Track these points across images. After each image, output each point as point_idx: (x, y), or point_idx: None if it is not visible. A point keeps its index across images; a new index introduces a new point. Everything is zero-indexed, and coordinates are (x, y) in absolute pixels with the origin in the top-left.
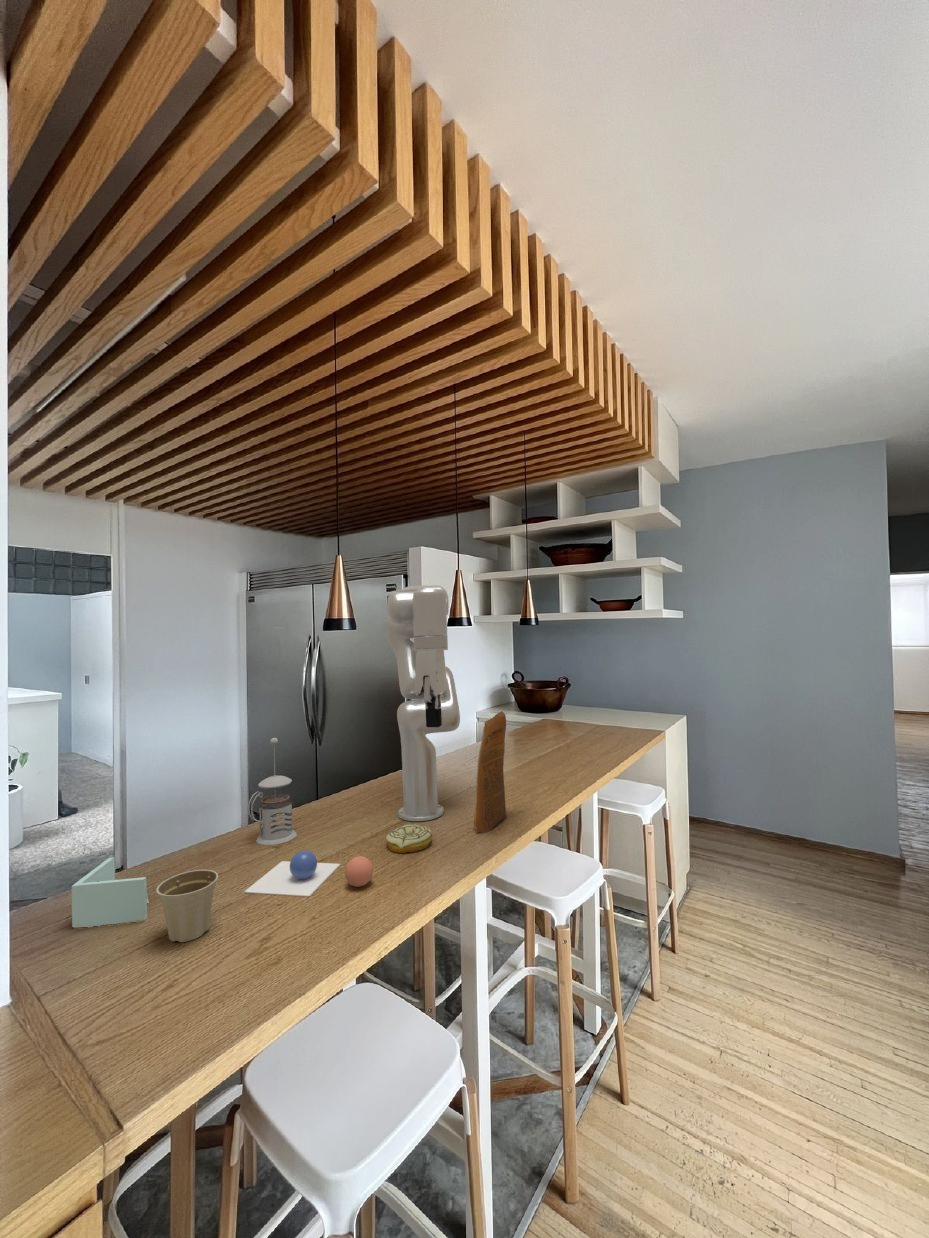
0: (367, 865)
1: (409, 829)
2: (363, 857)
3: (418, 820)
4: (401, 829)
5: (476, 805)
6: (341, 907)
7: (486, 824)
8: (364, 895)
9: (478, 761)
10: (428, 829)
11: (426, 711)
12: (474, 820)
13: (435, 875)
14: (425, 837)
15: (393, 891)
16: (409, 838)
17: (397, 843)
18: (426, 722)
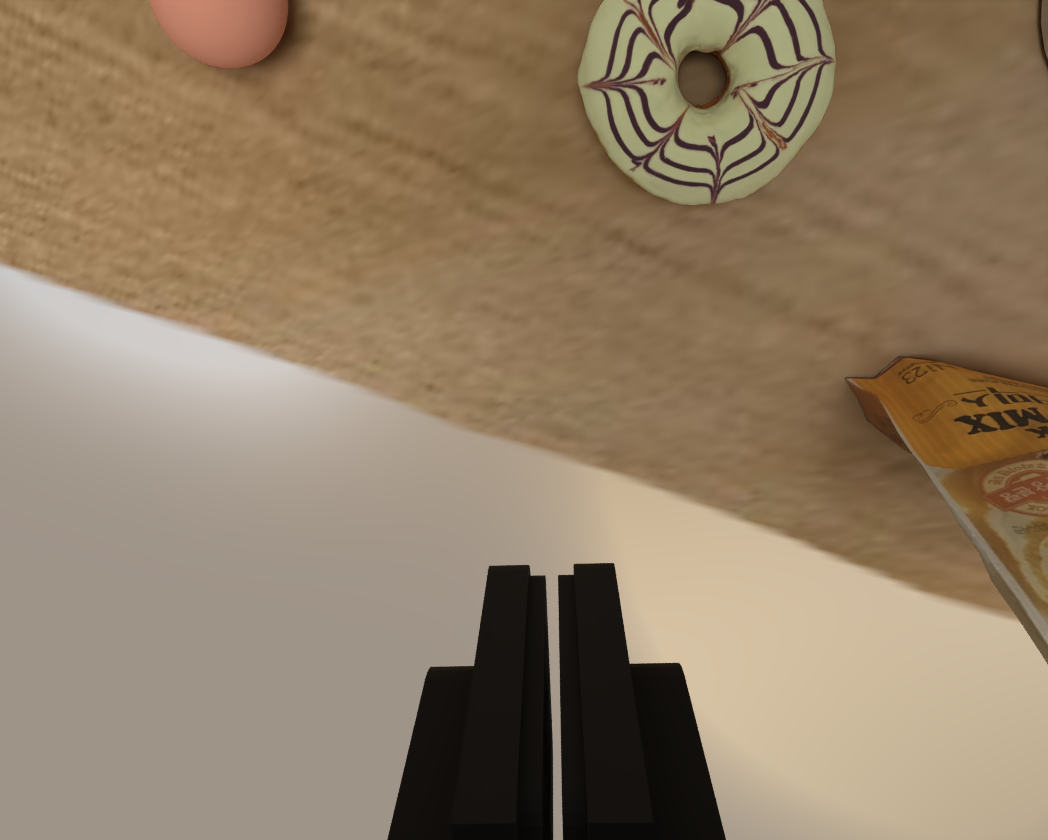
0: (194, 48)
1: (752, 62)
2: (207, 6)
3: (1042, 11)
4: (730, 18)
5: (900, 433)
6: (65, 17)
7: (890, 429)
8: (177, 73)
9: (1014, 608)
10: (745, 180)
11: (464, 787)
12: (919, 374)
13: (403, 309)
14: (657, 191)
15: (240, 185)
16: (616, 114)
17: (585, 54)
18: (484, 609)
